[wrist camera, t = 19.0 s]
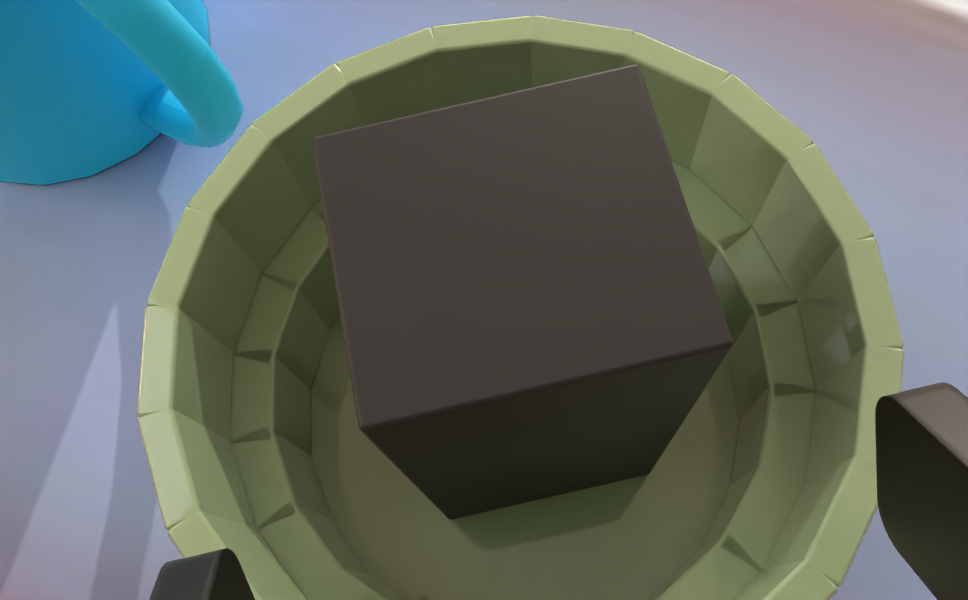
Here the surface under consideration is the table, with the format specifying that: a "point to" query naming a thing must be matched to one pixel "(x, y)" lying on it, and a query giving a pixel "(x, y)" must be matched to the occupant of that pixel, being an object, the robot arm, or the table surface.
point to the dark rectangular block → (519, 290)
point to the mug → (105, 84)
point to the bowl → (562, 518)
